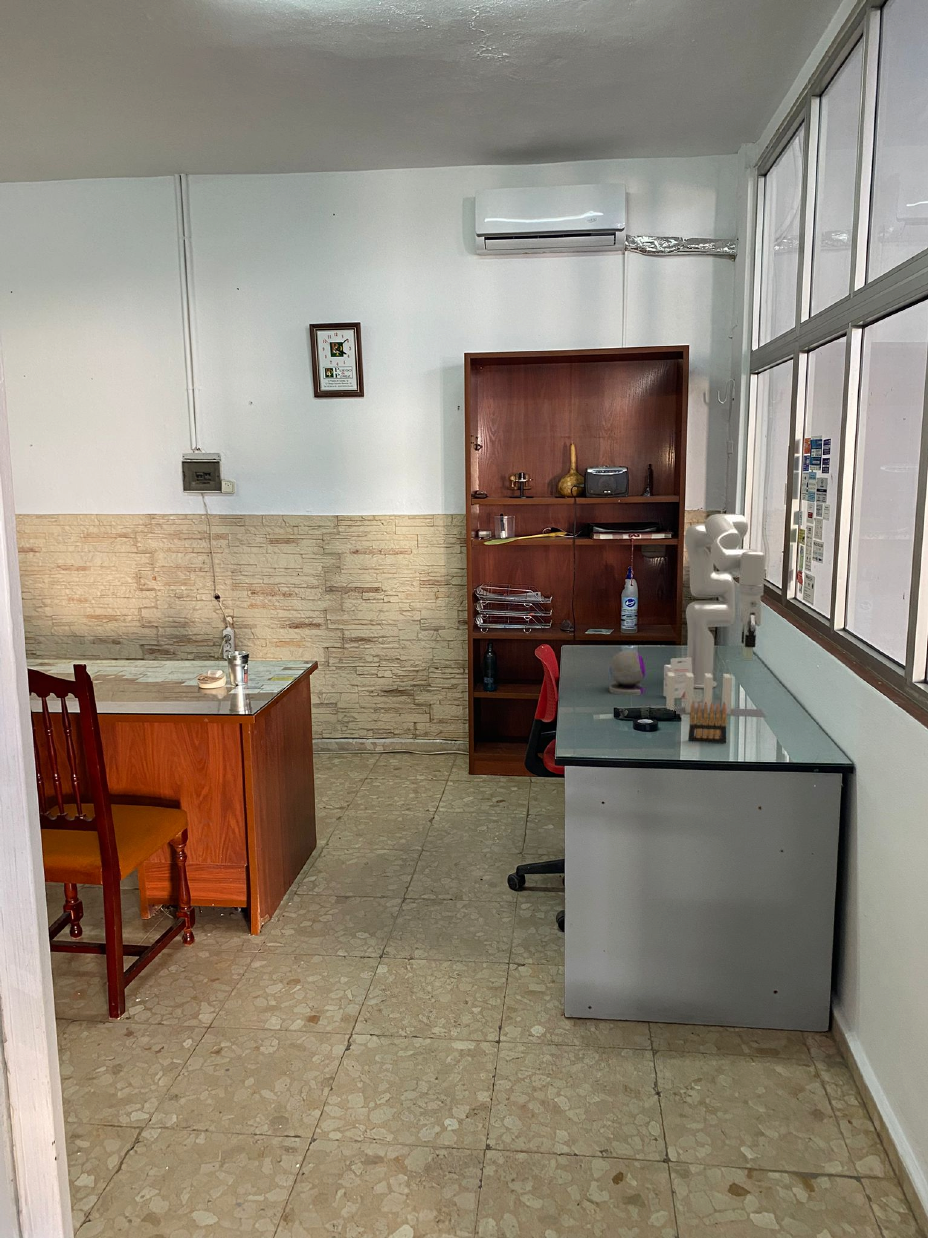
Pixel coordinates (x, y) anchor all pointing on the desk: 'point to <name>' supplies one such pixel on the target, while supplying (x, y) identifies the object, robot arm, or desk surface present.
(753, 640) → the robot arm
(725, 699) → the cream domino
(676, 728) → the desk surface
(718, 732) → the ammunition clip
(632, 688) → the webcam
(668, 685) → the cream domino
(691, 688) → the cream domino
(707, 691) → the cream domino
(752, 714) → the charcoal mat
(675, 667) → the ink cartridge box
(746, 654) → the sage domino
